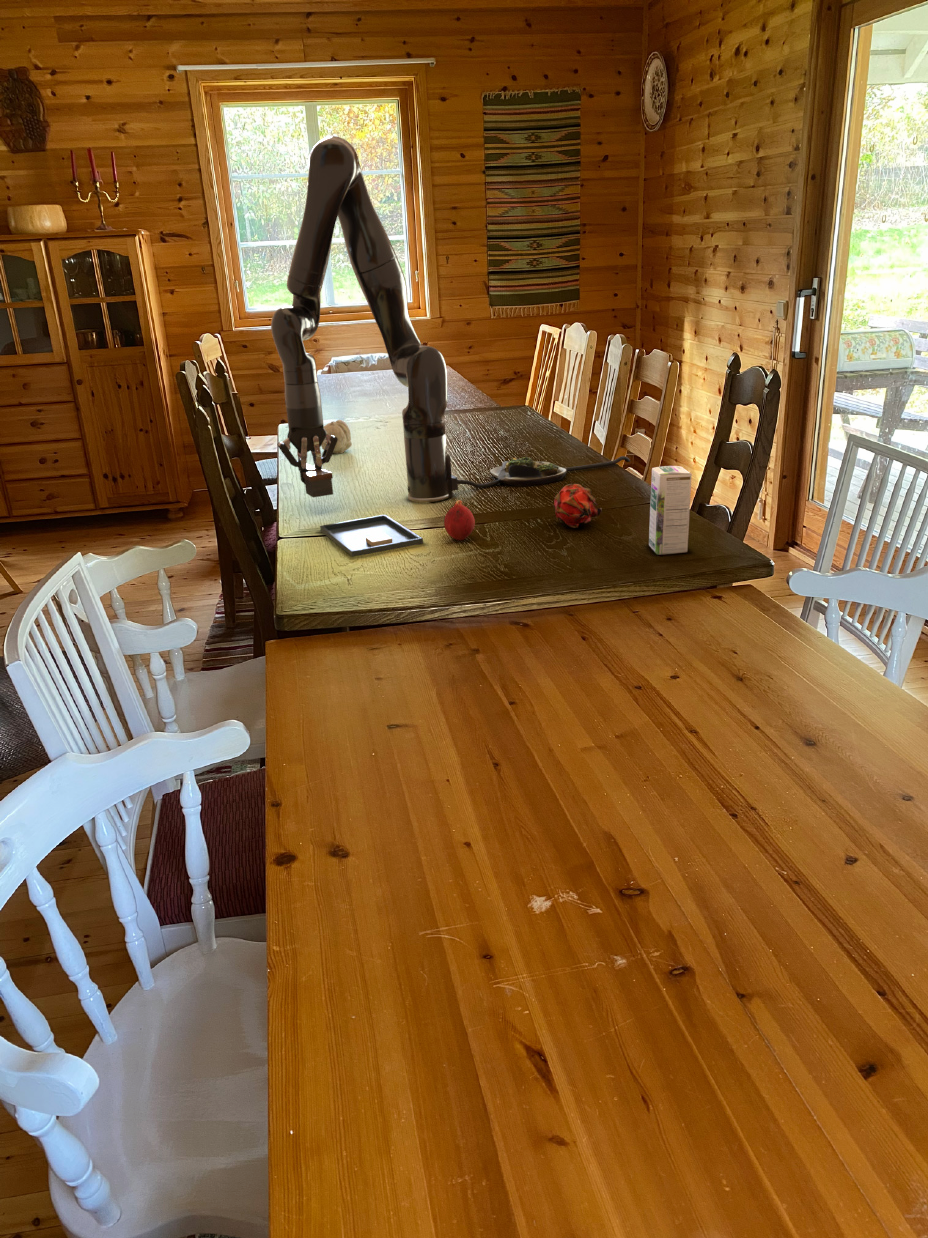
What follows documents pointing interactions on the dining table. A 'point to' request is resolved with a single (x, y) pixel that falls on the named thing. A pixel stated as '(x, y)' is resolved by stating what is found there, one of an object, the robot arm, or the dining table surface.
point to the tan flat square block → (378, 540)
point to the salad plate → (527, 472)
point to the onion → (459, 521)
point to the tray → (369, 534)
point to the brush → (318, 482)
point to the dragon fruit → (575, 505)
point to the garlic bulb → (338, 435)
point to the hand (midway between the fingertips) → (312, 483)
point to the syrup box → (669, 510)
